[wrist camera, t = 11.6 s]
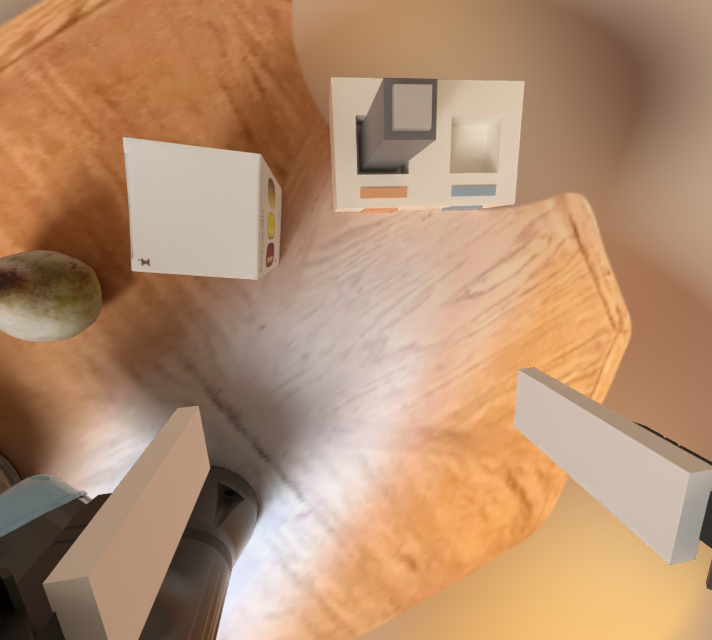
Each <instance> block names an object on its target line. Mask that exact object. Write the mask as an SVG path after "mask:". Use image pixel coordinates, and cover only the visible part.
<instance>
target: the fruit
mask: <svg viewBox="0 0 712 640" xmlns="http://www.w3.org/2000/svg"><path fill="white" fill-rule="evenodd" d="M101 305H102V292H101V286H100V284H99V281H98V278H97V275H96V273H95V272H94V270H93V269H92V268H91V267H89V266H88V265H87V264H85V263H83V262H82V261H80V260H78V259H75V258H73V257H70V256H68V255H66V254H64V253H61V252H56V251H48V250H32V251H27V252H23V253H18V254H15V255H10V256H6V257H2V258H0V331H1V332H3V333H5V334H8V335H10V336H12V337H15V338H19V339H23V340H28V341H37V342H42V341H58V340H64V339H68V338H71V337H73V336H75V335H77V334H78V333H80V332H81V331H83V330H84V329H86V328H87V327H89V326H90V325H92V324H93V323H94V322H95V321H96V319H97V317H98V315H99V313H100V310H101Z"/></svg>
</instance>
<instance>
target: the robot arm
mask: <svg viewBox="0 0 712 640" xmlns="http://www.w3.org/2000/svg"><path fill="white" fill-rule="evenodd" d="M514 427H515V428H517V429H518V430H519V431H520V432H521V433H522V434H523V435H524V436H526V437H527V438H528V439H529V440H530V441H531V442H532V443H533V444H535V445H536V446H537V447H538V448H539V449H540V450H541V451H542V452H544V453H545V454H546V455H547V456H548V457H549V458H550V459H551V460H553V461H554V462H555V463H556V464H557V465H558V466H559V467H560V468H562V469H563V470H564V471H565V472H566V473H567V474H568V475H569V476H571V477H572V478H573V479H574V480H575V481H576V482H577V483H578V484H579V485H581V486H582V487H583V488H584V489H585V490H586V491H587V492H588V493H590V494H591V495H592V496H593V497H594V498H596V500H597V501H599V502H600V503H601V504H602V505H603V506H604V507H605V508H607V509H608V510H609V511H610V512H611V513H612V514H613V515H614V516H615V517H617V518H618V519H619V520H620V521H621V522H622V523H623V524H624V525H625V526H627V527H628V528H629V529H630V530H631V531H632V532H633V533H635V534H636V535H637V536H638V537H639V538H640V539H641V540H642V541H643V542H645V543H646V544H647V545H648V546H649V547H650V548H651V549H652V550H654V551H655V552H656V553H657V554H658V555H659V556H660V557H661V558H663V559H664V560H665V561H666V562H667V563H668V564H669V565H672V564H677V563H682V562H686V561H691V560H695V558H696V554H697V550H698V546H699V542H700V540H701V541H703V542H704V543H705V544H706V545H708V546H709V547H710V548H712V462H710V461H709V460H707V459H705V458H703V457H701V456H699V455H698V454H696V453H694V452H692V451H690V450H688V449H686V448H685V447H683V446H678V444H677V443H676V442H674V441H672V440H670V439H668V438H664V437H663V436H662V435H661V434H659V433H657V432H655V431H653V430H652V429H650V428H648V427H646V426H644V425H641V424H638V423H636V422H633V421H630V420H628V419H627V418H625V417H623V416H621V415H619V414H618V413H616V412H614V411H612V410H610V409H609V408H607V407H605V406H603V405H601V404H600V403H598V402H596V401H594V400H592V399H590V398H589V397H587V396H585V395H583V394H581V393H580V392H578V391H576V390H574V389H572V388H571V387H569V386H567V385H565V384H563V383H562V382H560V381H558V380H556V379H554V378H553V377H551V376H549V375H547V374H545V373H544V372H542V371H540V370H538V369H536V368H535V367H533V368H524V369H518V377H517V391H516V406H515V420H514ZM86 494H87V493H86V492H85V491H79V490H77V489H75V488H74V487H72V486H70V485H69V484H67V483H66V482H64V481H63V480H61V479H59V478H58V477H56V476H54V475H50V474H39V475H34V476H31V477H28V478H26V479H24V480H22V481H21V482H19V483H17V484H16V485H14V486H13V487H11V488H9V489H8V490H6V491H5V492H3V493H2V494H0V640H216V637H217V632H218V628H219V623H220V619H221V615H222V610H223V606H224V601H225V597H226V593H227V589H228V584H229V580H230V576H231V571H232V568H233V566H234V565H235V563H236V561H237V560H238V558H239V556H240V555H241V553H242V551H243V550H244V548H245V546H246V545H247V543H248V541H249V540H250V538H251V536H252V534H253V531H254V528H255V524H256V518H257V513H258V504H257V499H256V496H255V494H254V492H253V490H252V488H251V487H250V486H249V485H248V483H247V482H246V481H244V480H243V479H242V478H241V477H239V476H238V475H236V474H234V473H233V472H230V471H228V470H225V469H222V468H218V467H211V466H210V464H209V459H208V453H207V448H206V443H205V437H204V432H203V426H202V421H201V416H200V410H199V406H192V407H183V408H177V409H176V411H175V412H174V413H173V414H172V416H171V417H170V418H169V420H168V421H167V422H166V424H165V425H164V426H163V427H162V429H161V430H160V431H159V433H158V434H157V435H156V437H155V438H154V439H153V441H152V442H151V443H150V444H149V446H148V447H147V448H146V450H145V451H144V452H143V454H142V455H141V456H140V457H139V459H138V460H137V461H136V463H135V464H134V465H133V467H132V468H131V469H130V471H129V472H128V473H127V474H126V476H125V477H124V478H123V480H122V481H121V482H120V484H119V485H118V486H117V487H116V489H115V490H114V491H113V493H109V494H102V495H98V496H96V497H95V498H94V499H93V500H92V499H91V498H90V497H88V496H87V495H86ZM706 584H707V588H708V589H710V590H712V561H711V565H710V569H709V573H708V577H707V580H706Z"/></svg>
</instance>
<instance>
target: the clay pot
mask: <svg viewBox="0 0 712 640" xmlns="http://www.w3.org/2000/svg"><path fill="white" fill-rule="evenodd" d="M19 482H21V479H20V477H19V475H18V474H17V472H16V471H15V469H14V468H13V467H12V465H11V464H10V463H9V461H8V460H7V459H5V458H4V457H3V456H2V455H1V454H0V494H2V493H3V492H5V491H6V490H8V489H9V488H11V487H13V486H14V485H16V484H17V483H19Z"/></svg>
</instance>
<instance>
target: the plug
mask: <svg viewBox="0 0 712 640" xmlns="http://www.w3.org/2000/svg"><path fill="white" fill-rule="evenodd" d="M437 81H438V79H412V78H408V79H407V78H383V80H382V82H381V85H380V87H379V89H378V91H377V93H376V96H375V98H374V100H373V102H372V104H371V107H370V109H369V111H368V113H367V115H366V117H365V120H364V122H363V124H362V126H361V128H360V131H359V162H360V172H395V171H396V170H398V169H399V168H400V167H401V166H403V165H404V164H405V163H407V162H408V161H409V160H411V159H412V158H413V157H414V156H416V155H417V154H418V153H420V152H421V151H422V150H423V149H425V148H426V147H427V146H429V145H430V144H431V143H433V142H434V141H435V140H436V123H437Z"/></svg>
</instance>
